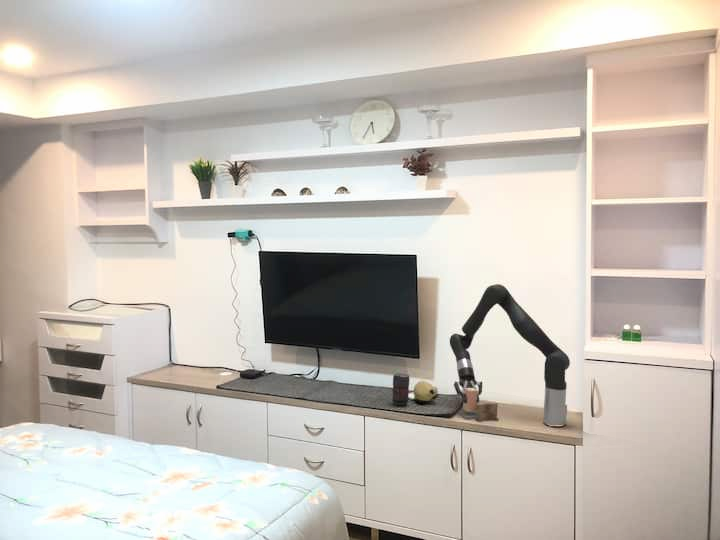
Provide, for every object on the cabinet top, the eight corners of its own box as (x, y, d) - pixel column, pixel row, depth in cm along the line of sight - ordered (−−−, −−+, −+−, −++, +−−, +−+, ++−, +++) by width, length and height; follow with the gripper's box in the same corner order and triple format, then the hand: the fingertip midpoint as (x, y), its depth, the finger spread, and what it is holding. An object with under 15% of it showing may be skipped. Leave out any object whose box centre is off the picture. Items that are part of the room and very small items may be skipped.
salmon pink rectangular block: (471, 408, 282) (472, 387, 281) (476, 411, 277) (477, 390, 276) (463, 408, 280) (464, 387, 279) (467, 411, 276) (468, 390, 275)
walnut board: (493, 417, 278) (494, 401, 278) (498, 420, 274) (499, 404, 273) (474, 418, 275) (475, 403, 275) (478, 421, 271) (479, 405, 271)
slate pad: (473, 413, 284) (473, 411, 284) (481, 418, 276) (481, 416, 276) (458, 414, 282) (458, 412, 281) (465, 419, 274) (465, 417, 274)
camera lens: (403, 408, 287) (405, 378, 286) (389, 405, 292) (390, 375, 290) (411, 404, 294) (412, 374, 293) (396, 401, 298) (397, 372, 297)
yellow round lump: (432, 406, 292) (433, 385, 291) (410, 402, 297) (410, 381, 297) (439, 401, 300) (440, 381, 299) (417, 397, 306) (418, 377, 305)
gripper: (452, 366, 284) (458, 398, 273) (481, 366, 285) (488, 398, 274) (449, 374, 289) (454, 406, 279) (477, 374, 291) (484, 406, 280)
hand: (471, 402), depth 277 cm, fingers closed on salmon pink rectangular block, 5 cm apart
